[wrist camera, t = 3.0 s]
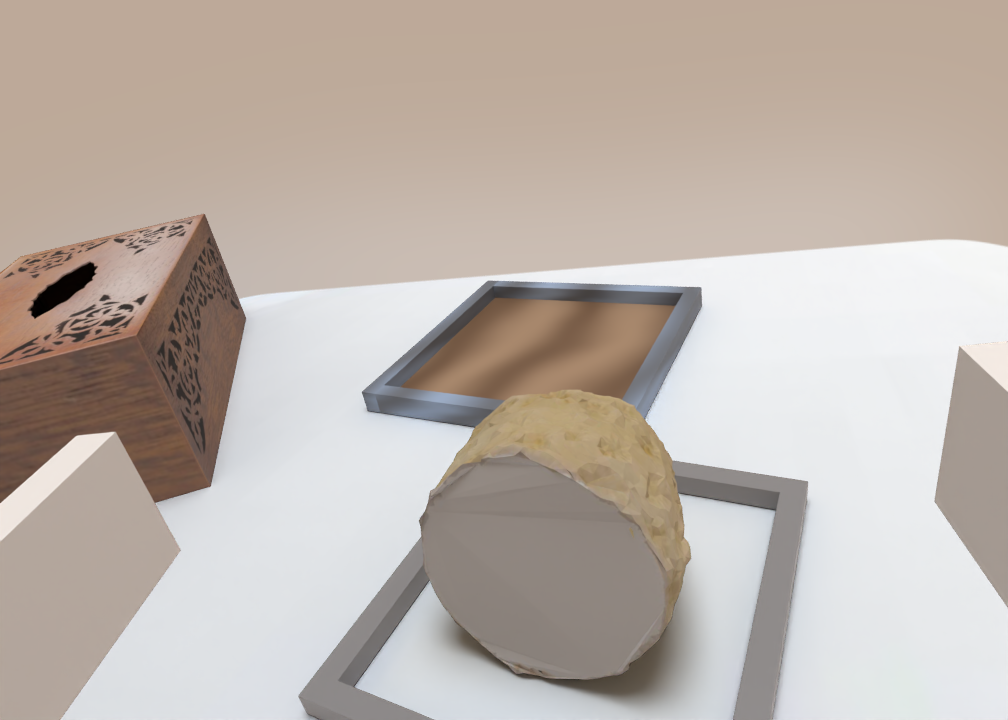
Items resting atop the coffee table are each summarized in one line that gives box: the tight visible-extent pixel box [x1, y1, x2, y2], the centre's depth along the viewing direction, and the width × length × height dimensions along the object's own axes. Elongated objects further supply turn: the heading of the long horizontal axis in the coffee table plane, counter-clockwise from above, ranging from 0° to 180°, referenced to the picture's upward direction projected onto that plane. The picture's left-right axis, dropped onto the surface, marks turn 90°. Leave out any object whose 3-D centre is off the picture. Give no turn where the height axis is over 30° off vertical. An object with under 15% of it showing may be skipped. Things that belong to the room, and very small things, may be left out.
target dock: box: [362, 281, 702, 427], centre depth 44 cm, size 17×17×1 cm
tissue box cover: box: [0, 214, 246, 503], centre depth 46 cm, size 26×14×10 cm, turn 15°
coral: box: [419, 390, 691, 680], centre depth 24 cm, size 10×10×10 cm
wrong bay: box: [298, 461, 808, 720], centre depth 26 cm, size 15×16×1 cm
